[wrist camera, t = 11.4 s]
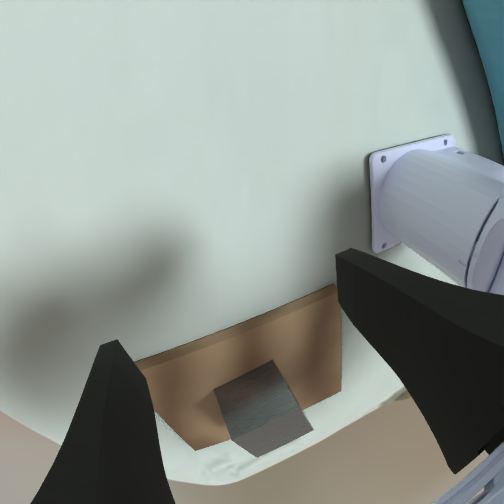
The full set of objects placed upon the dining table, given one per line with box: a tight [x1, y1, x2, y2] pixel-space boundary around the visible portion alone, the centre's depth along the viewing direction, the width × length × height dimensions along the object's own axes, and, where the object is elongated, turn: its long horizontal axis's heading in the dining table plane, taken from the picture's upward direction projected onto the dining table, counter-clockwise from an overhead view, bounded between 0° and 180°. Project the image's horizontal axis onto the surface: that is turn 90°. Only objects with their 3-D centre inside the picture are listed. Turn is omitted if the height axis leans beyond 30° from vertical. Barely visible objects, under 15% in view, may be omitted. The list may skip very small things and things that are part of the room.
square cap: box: [214, 359, 314, 457], centre depth 24 cm, size 5×5×5 cm
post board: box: [134, 284, 342, 451], centre depth 25 cm, size 17×15×4 cm
